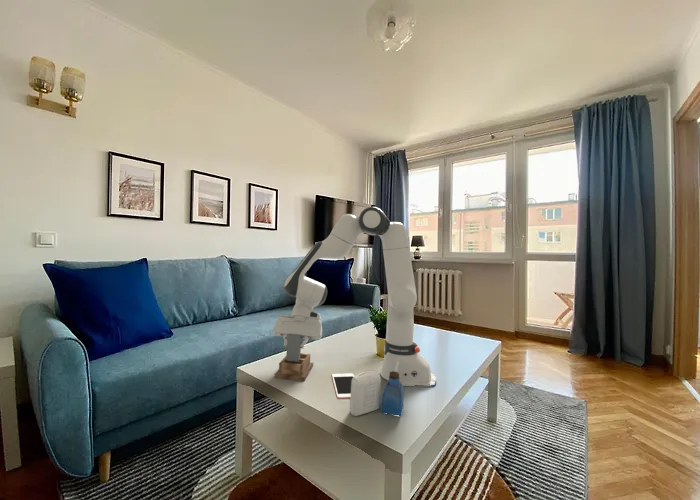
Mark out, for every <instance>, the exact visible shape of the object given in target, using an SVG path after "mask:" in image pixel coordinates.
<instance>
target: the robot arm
mask: <svg viewBox="0 0 700 500" xmlns="http://www.w3.org/2000/svg"><path fill="white" fill-rule="evenodd" d="M362 234H365V235H368V236H378V237H380V240H381V245H382V252H383V260H384V269H385V279H386V288H387V313H386V333H385V339H384V343H383V344H384V346H383V353H384V356H383V357H384V358H383V362H382V367H381V370H380V372H379V375H380V377H382V378H383V379H384V380H386V381H388V380H389V376H390V372H393V371H394V372H398V373H399V382H401V384H402V386H403V387H416V386H415V385H430V384H434V383H435V382H433V381H431V380H436V381H437V377H436V375H435V373H433V372H432V370H431V366H430V363H429V362H428V360H427V359H426V358H425V357H424V356H423V355H421V354H420V352H421V349H420V346H419V345H418V344H417V343H416V342H414V329H415V328H414V327H415V323H414V322H415V321H414V319H415V318H414V314H415V312H414V307H416V303H417V302H418V301H417V300H418V295H417V287H416V282H415V281H416V280H415V276H414V270H413V265H412V264H413V262H412V254H411V253H412V252H411V247H410V246H411V245H410V240H409V237H408V232H407V229H406V226H405V225H404V223H402V222H399V221H390V219H389V218H388V216H387V215H386V214H385V212H384V211H383V210H382V209H381V208H379V207H376V206H368V207H366V208H364V209H363V210H362V211H361V212H360V214H359V216H356V215H354V214H351V213H345V214H343V215H342V216H341V217H340V218H339V219H338V220H337V222H336V223H335V225H334V226H333V228H332V229H331V232H330V234H328V236H327V237H326V238H325V239H324V240H322V241H317V242H316V243H315V244H314V245H313V246H312V247H311V248H310V250H309V251H308V252H307V253H306V254H305V256H304V257H303V258H302V260H301V261H300V263H299V264H298V265H297V266H296V268H295V269H294V270H293V271H292V272H291V274H290V275H288V277H287V278H286V279H285V282H284V284H283V285H284V286H283V288H284V291H285V293H286V294H287V295H288V296H290V297H293V298H295V304H294V306H293V307H292V308H293V309H292V310H291V311H292V312H291V315H290V314H289V315H285V314H282V315H279V316H277V318H276V320H275V324H274V326H273V328H272V332H273V335H274V336H275V337H282V338H283V341H284V342H283V347H284V348H287V336H288V335H289V334H299V335H301V340H302V339H303V341H301V342H300V345H299V347H300V348H301V350H302V349H304V348H305V345H306V344H307V343H308V342H309V340H313V341H314V340H315V341H320V340H321V339H322V336H323V326H322V316H321V314H320V313H318V312H315V311H314V309H315V308H318V307H320V306H321V305H323V304H324V303H325V301H326V300H327V296H328V288H327V286H326V284H324V283H322V282H319V281H317V280H315V279H313V278H310V277H307V276H306V274H307V271H309V270H310V268H311V267H312V265H313V264H314V263H315V262H316V261H317V260H319V259H335V260H336V259H337V260H338V259H343V258H345V257H346V256H348V255H349V254H350V253H351V251H352V249H353V247H354V245H355V243H356V241H357V239H359V236H361V235H362ZM431 372H432V373H433V374H432V373H431ZM434 375H435V376H434Z"/></svg>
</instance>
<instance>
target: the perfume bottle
mask: <svg viewBox="0 0 700 500" xmlns="http://www.w3.org/2000/svg"><path fill="white" fill-rule="evenodd" d="M404 395H405V388H404V386H402V384H401V382H399V373H398V372H394V371H393V372H390V376H389V380H387V382H386V384H385V386H384V388H383V391H382V395H381V397H382V398H381V410H380V411H381V414H383V413H387V414H386V415H388V414H393V415H399V416H401V417H402V414H401V413H403V410H402V409H403V408H404V398H405V396H404ZM393 415H392V416H393Z"/></svg>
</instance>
